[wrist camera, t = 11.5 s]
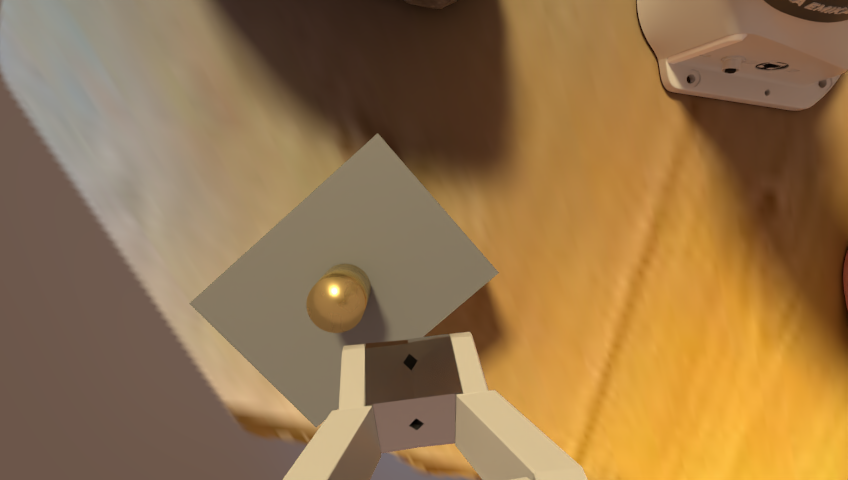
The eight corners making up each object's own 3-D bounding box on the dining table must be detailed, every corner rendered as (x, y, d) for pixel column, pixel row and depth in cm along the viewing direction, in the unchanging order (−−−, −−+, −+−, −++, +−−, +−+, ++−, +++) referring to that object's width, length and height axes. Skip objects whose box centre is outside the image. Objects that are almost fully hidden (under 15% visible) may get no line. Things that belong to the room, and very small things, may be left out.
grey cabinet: (471, 243, 42) (498, 272, 29) (343, 353, 44) (316, 427, 31) (387, 147, 40) (377, 133, 28) (257, 264, 42) (189, 303, 29)
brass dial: (377, 272, 29) (372, 287, 25) (362, 318, 30) (354, 340, 26) (328, 256, 29) (315, 269, 25) (314, 303, 29) (299, 323, 25)
